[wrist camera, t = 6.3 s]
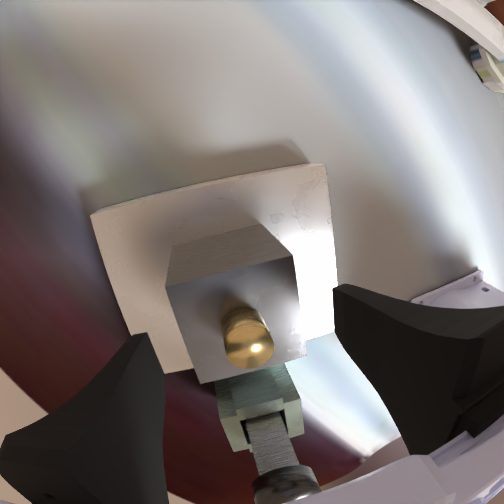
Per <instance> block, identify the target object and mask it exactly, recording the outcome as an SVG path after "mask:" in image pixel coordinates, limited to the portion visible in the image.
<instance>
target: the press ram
mask: <svg viewBox="0 0 504 504" xmlns="http://www.w3.org/2000/svg"><path fill="white" fill-rule="evenodd" d="M245 422H246V426H247V430H248V434H249V438H250V442H251V446H252V449H253V453H254V457H255V461H256V464H257V468H258V472H259V475H260V476H259V477H258V478H256V479H255V480H254V481H253V483H252V485H251V488H252V492H253V496H254V499H255V503H256V504H282V503H286V502H290V501H293V500H297V499H300V498H304V497H307V496H310V495H313V494H316V493H319V492H322V491H321V489H320V487H319V485H318V482H317V480H316V478H315V475H314V473H313V471H312V469H311V468H310V467H307V466H303V465H299V462H298V460H297V457H296V455H295V452H294V450H293V447H292V444H291V442H290V439H289V437H288V434H287V431H286V429H285V426H284V424H283V421H282V418H281V416H280V413H279V411H276V412H272V413H269V414H265V415H261V416H257V417H253V418H249V419H245Z"/></svg>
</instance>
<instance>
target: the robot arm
mask: <svg viewBox="0 0 504 504" xmlns="http://www.w3.org/2000/svg"><path fill="white" fill-rule="evenodd" d="M332 300H333V318H334V332H335V333H336V335H337V337H338V339H339V341H340V343H341V344H342V346H343V348H344V349H345V351H346V352H347V353H348V355H349V356H350V357H351V359H352V360H353V361H354V362H355V364H356V365H357V366H358V367H359V369H360V370H361V371H362V373H363V374H364V375H365V376H366V378H367V379H368V380H369V381H370V383H371V384H372V385H373V387H374V388H375V390H376V391H377V392H378V394H379V396H380V397H381V399H382V401H383V402H384V404H385V406H386V407H387V409H388V411H389V413H390V415H391V417H392V418H393V420H394V422H395V424H396V426H397V428H398V430H399V432H400V434H401V436H402V438H403V440H404V442H405V444H406V446H407V448H408V451H409V453H410V456H408V457H406V458H403V459H401V460H398V461H395V462H393V463H390V464H388V465H386V466H384V467H382V468H380V469H378V470H376V471H373V472H371V473H369V474H367V475H365V476H362V477H360V478H357V479H355V480H352V481H350V482H347V483H345V484H342V485H339V486H337V487H334V488H331V489H328V490H325V491H323V492H319V493H316V494H313V495H310V496H307V497H304V498H300V499H297V500H293V501H290V502H286V503H282V504H485V503H487V502H488V501H489V500H490V499H491V498H493V497H494V496H495V495H496V494H497V493H498V492H499V491H500V490H502V488H504V292H502V291H500V290H498V289H496V288H495V287H493V286H491V285H489V284H487V283H486V282H484V281H483V271H481V270H479V271H476V272H474V273H472V274H470V275H468V276H465V277H463V278H461V279H459V280H457V281H454V282H452V283H450V284H447V285H445V286H443V287H440V288H438V289H436V290H433V291H431V292H428V293H426V294H423V295H421V296H418V297H416V298H414V299H412V300H411V301H410V302H407V301H403V300H399V299H395V298H392V297H388V296H385V295H382V294H379V293H376V292H372V291H369V290H366V289H363V288H360V287H357V286H353V285H349V284H343V285H340V286H336V287H333V288H332ZM419 302H420V303H419ZM165 395H166V393H165V377H164V371H163V369H162V367H161V364H160V362H159V360H158V357H157V355H156V353H155V350H154V348H153V345H152V343H151V340H150V338H149V335H148V333H147V332H144V333H139V334H134V335H132V336H131V337H130V338H129V339H128V340H127V341H126V342H125V343H124V344H123V345H122V347H121V348H120V349H119V350H118V351H117V353H116V354H115V355H114V356H113V357H112V358H111V360H110V361H109V362H108V363H107V364H106V365H105V366H104V367H103V369H102V370H101V371H100V372H99V373H98V374H97V375H96V376H95V377H94V378H93V379H92V380H91V381H90V382H89V383H88V384H87V385H86V386H85V387H84V388H83V389H82V390H81V391H79V392H78V393H77V394H76V395H75V396H74V397H72V398H71V399H70V400H68V401H67V402H66V403H64V404H63V405H61V406H60V407H59V408H57V409H56V410H55V411H53V412H51V413H50V414H48V415H47V416H45V417H43V418H42V419H40V420H38V421H36V422H34V423H32V424H30V425H28V426H26V427H24V428H22V429H19V430H17V431H15V432H12V433H10V434H7V435H6V436H5V438H4V440H3V443H2V445H1V448H0V475H1V476H2V477H3V478H4V479H5V480H6V481H7V482H8V483H9V484H10V485H11V486H12V487H13V488H14V489H16V490H17V491H18V492H19V493H20V494H21V495H23V496H24V497H25V498H26V499H28V500H29V501H30V502H31V503H32V504H169V500H168V494H167V488H166V481H165V473H164V463H163V451H162V440H163V424H164V410H165ZM0 504H14V503H10V502H7V501H4V500H0Z"/></svg>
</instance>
